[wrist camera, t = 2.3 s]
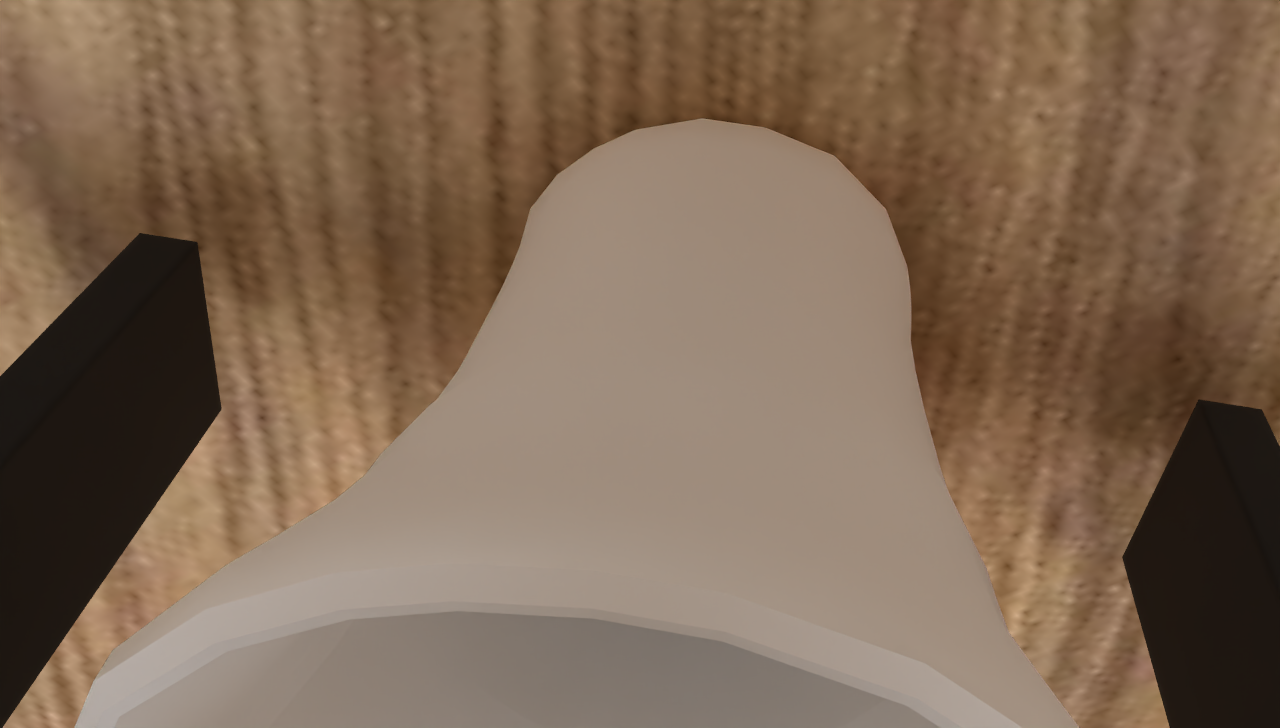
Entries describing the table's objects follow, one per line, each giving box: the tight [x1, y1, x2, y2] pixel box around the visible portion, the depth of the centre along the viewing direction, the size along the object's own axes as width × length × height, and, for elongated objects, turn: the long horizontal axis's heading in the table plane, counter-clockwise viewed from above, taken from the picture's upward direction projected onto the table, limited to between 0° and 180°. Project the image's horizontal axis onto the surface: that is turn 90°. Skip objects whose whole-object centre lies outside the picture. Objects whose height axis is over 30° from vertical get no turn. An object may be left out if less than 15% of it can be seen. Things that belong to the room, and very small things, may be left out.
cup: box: [75, 118, 1080, 728], centre depth 13 cm, size 9×9×10 cm
